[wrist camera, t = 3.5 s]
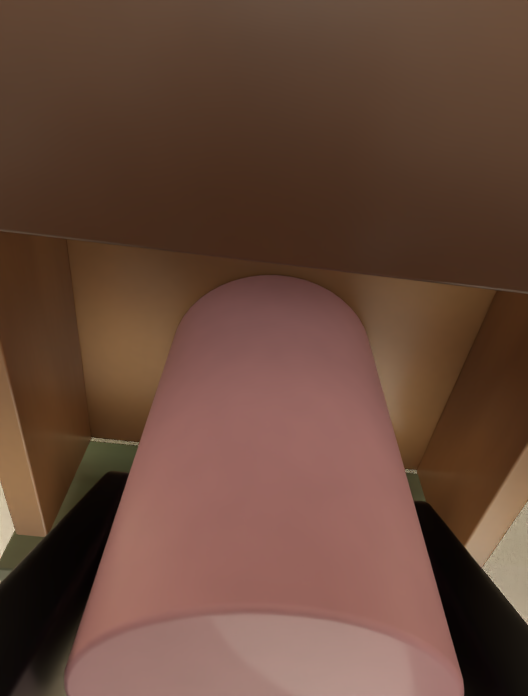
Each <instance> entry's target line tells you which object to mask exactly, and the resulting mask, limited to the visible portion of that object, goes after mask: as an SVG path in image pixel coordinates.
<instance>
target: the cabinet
mask: <svg viewBox="0 0 528 696" xmlns="http://www.w3.org/2000/svg"><path fill="white" fill-rule="evenodd" d="M0 231H3V232H12V233H20V234H28V235H37V236H45V237H54V238H62V239H70V240H79V241H87V242H96V243H104V244H112V245H121V246H129V247H137V248H146V249H154V250H163V251H171V252H179V253H188V254H196V255H205V256H213V257H221V258H230V259H238V260H247V261H255V262H263V263H272V264H280V265H289V266H297V267H305V268H314V269H322V270H331V271H339V272H347V273H356V274H364V275H372V276H381V277H389V278H398V279H406V280H414V281H423V282H431V283H440V284H448V285H456V286H465V287H473V288H482V289H490V290H498V291H507V292H515V293H524V294H528V0H0Z"/></svg>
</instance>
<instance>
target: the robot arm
mask: <svg viewBox="0 0 528 696" xmlns="http://www.w3.org/2000/svg"><path fill="white" fill-rule="evenodd" d="M128 476H129V473H127V472H118V471H109V472H107V473H106V474H105V475H104V476H103V477H102V478H101V479H100V480H99V481H98V482H97V483H96V484H95V485H94V486H93V487H92V488H91V489H90V490H89V491H88V492H87V493H86V494H85V495H84V496H83V498H82V499H81V500H80V501H79V502H78V503H77V504H76V505H75V506H74V507H73V508H72V509H71V510H70V511H69V512H68V513H67V514H66V515H65V516H64V517H63V518H62V519H61V520H60V521H59V522H58V523H57V524H56V526H55V527H54V528H53V529H52V530H51V531H50V532H49V533H48V534H47V535H46V536H45V537H44V538H43V539H42V540H41V541H40V542H39V543H38V544H37V545H36V546H35V547H34V548H33V549H32V550H31V551H30V552H29V554H28V555H27V556H26V557H25V558H24V559H23V560H22V561H21V562H20V563H19V564H18V565H17V566H16V567H15V568H14V569H13V570H12V571H11V572H10V573H9V574H8V575H7V576H6V577H5V578H4V579H3V581H2V582H1V583H0V696H67V695H66V692H65V688H64V671H65V668H66V665H67V662H68V659H69V655H70V652H71V649H72V646H73V643H74V640H75V637H76V634H77V631H78V628H79V625H80V622H81V619H82V616H83V613H84V610H85V607H86V604H87V601H88V598H89V595H90V592H91V588H92V585H93V582H94V579H95V576H96V573H97V570H98V567H99V564H100V561H101V558H102V555H103V552H104V549H105V546H106V543H107V540H108V537H109V534H110V531H111V528H112V525H113V522H114V519H115V515H116V512H117V509H118V506H119V503H120V500H121V497H122V494H123V491H124V488H125V485H126V482H127V479H128ZM413 501H414V505H415V508H416V512H417V516H418V519H419V523H420V526H421V530H422V534H423V537H424V541H425V544H426V548H427V552H428V555H429V559H430V563H431V566H432V570H433V573H434V577H435V581H436V584H437V588H438V591H439V595H440V599H441V602H442V606H443V609H444V613H445V617H446V620H447V624H448V627H449V631H450V635H451V638H452V642H453V645H454V649H455V653H456V656H457V660H458V663H459V667H460V671H461V674H462V678H463V684H464V696H528V625H527V624H526V622H525V621H524V620H523V619H522V617H521V616H520V615H519V614H518V612H517V611H516V610H515V609H514V608H513V606H512V605H511V604H510V603H509V601H508V600H507V599H506V598H505V596H504V595H503V594H502V593H501V591H500V590H499V589H498V588H497V587H496V585H495V584H494V583H493V582H492V580H491V579H490V578H489V577H488V575H487V574H486V573H485V572H484V570H483V569H482V568H481V567H480V566H479V564H478V563H477V562H476V561H475V559H474V558H473V557H472V556H471V554H470V553H469V552H468V551H467V549H466V548H465V547H464V546H463V544H462V543H461V542H460V541H459V540H458V538H457V537H456V536H455V535H454V533H453V532H452V531H451V530H450V528H449V527H448V526H447V525H446V523H445V522H444V521H443V520H442V519H441V517H440V516H439V515H438V514H437V512H436V511H435V510H434V509H433V507H432V506H431V505H430V504H429V503H427V502H424V501H415V500H413Z"/></svg>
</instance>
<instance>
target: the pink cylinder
mask: <svg viewBox="0 0 528 696" xmlns="http://www.w3.org/2000/svg"><path fill="white" fill-rule="evenodd" d="M64 688H65V692H66V695H67V696H464V684H463V678H462V674H461V671H460V667H459V663H458V660H457V656H456V653H455V649H454V645H453V642H452V638H451V635H450V631H449V627H448V624H447V620H446V617H445V613H444V609H443V606H442V602H441V599H440V595H439V591H438V588H437V584H436V581H435V577H434V573H433V570H432V566H431V563H430V559H429V555H428V552H427V548H426V544H425V541H424V537H423V534H422V530H421V526H420V523H419V519H418V516H417V512H416V508H415V505H414V501H413V498H412V494H411V490H410V487H409V483H408V480H407V476H406V472H405V469H404V465H403V462H402V458H401V454H400V451H399V447H398V444H397V440H396V436H395V433H394V429H393V426H392V422H391V418H390V415H389V411H388V408H387V404H386V400H385V397H384V393H383V390H382V386H381V382H380V379H379V375H378V372H377V368H376V364H375V361H374V357H373V354H372V350H371V346H370V343H369V339H368V336H367V334H366V331H365V328H364V326H363V325H362V323H361V321H360V319H359V318H358V316H357V315H356V314H355V312H354V311H353V310H352V309H351V308H350V307H349V306H348V305H347V304H346V303H345V302H344V301H343V300H342V299H341V298H339V297H338V296H336V295H335V294H334V293H332V292H331V291H329V290H327V289H325V288H323V287H321V286H319V285H317V284H314V283H312V282H309V281H306V280H303V279H299V278H294V277H289V276H281V275H259V276H251V277H246V278H242V279H238V280H234V281H231V282H229V283H226V284H224V285H221V286H219V287H217V288H216V289H214V290H212V291H210V292H208V293H207V294H206V295H204V296H203V297H202V298H200V299H199V300H198V301H197V302H196V303H195V304H194V305H193V306H192V307H191V308H190V309H189V310H188V311H187V313H186V314H185V315H184V317H183V318H182V320H181V322H180V324H179V326H178V327H177V330H176V333H175V336H174V339H173V342H172V345H171V348H170V351H169V354H168V357H167V360H166V363H165V366H164V369H163V372H162V375H161V378H160V381H159V385H158V388H157V391H156V394H155V397H154V400H153V403H152V406H151V409H150V412H149V415H148V418H147V421H146V424H145V427H144V430H143V433H142V436H141V439H140V442H139V445H138V448H137V452H136V455H135V458H134V461H133V464H132V467H131V470H130V473H129V476H128V479H127V482H126V485H125V488H124V491H123V494H122V497H121V500H120V503H119V506H118V509H117V512H116V515H115V519H114V522H113V525H112V528H111V531H110V534H109V537H108V540H107V543H106V546H105V549H104V552H103V555H102V558H101V561H100V564H99V567H98V570H97V573H96V576H95V579H94V582H93V585H92V588H91V592H90V595H89V598H88V601H87V604H86V607H85V610H84V613H83V616H82V619H81V622H80V625H79V628H78V631H77V634H76V637H75V640H74V643H73V646H72V649H71V652H70V655H69V659H68V662H67V665H66V668H65V671H64Z"/></svg>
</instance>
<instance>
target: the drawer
mask: <svg viewBox="0 0 528 696" xmlns="http://www.w3.org/2000/svg"><path fill="white" fill-rule="evenodd" d="M259 275H281V276H289V277H294V278H299V279H303V280H306V281H309V282H312V283H314V284H317V285H319V286H321V287H323V288H325V289H327V290H329V291H331V292H332V293H334V294H335V295H336V296H338V297H339V298H341V299H342V300H343V301H344V302H345V303H346V304H347V305H348V306H349V307H350V308H351V309H352V310H353V311H354V312H355V314H356V315H357V316H358V318H359V319H360V321H361V323H362V325H363V326H364V328H365V331H366V334H367V336H368V339H369V343H370V346H371V350H372V354H373V357H374V361H375V364H376V368H377V372H378V375H379V379H380V382H381V386H382V390H383V393H384V397H385V400H386V404H387V408H388V411H389V415H390V418H391V422H392V426H393V429H394V433H395V436H396V440H397V444H398V447H399V451H400V454H401V458H402V462H403V465H404V469H412V470H417V474H415V473H406V476H407V480H408V483H409V487H410V490H411V494H412V498H413V500H415V501H424V502H427V503H429V504H430V505H431V506H432V507H433V509H434V510H435V511H436V512H437V514H438V515H439V516H440V517H441V519H442V520H443V521H444V522H445V523H446V525H447V526H448V527H449V528H450V530H451V531H452V532H453V533H454V535H455V536H456V537H457V538H458V540H459V541H460V542H461V543H462V544H463V546H464V547H465V548H466V549H467V551H468V552H469V553H470V554H471V556H472V557H473V558H474V559H475V561H476V562H477V563H478V564H479V566H480V567H481V568H482V567H483V565H484V564H485V562H486V561H487V559H488V558H489V557H490V555H491V554H492V552H493V551H494V549H495V548H496V546H497V545H498V543H499V542H500V540H501V539H502V538H503V536H504V535H505V533H506V532H507V530H508V529H509V527H510V526H511V524H512V523H513V521H514V520H515V518H516V517H517V516H518V514H519V513H520V511H521V510H522V508H523V507H524V505H525V504H526V502H527V501H528V294H524V293H515V292H507V291H498V290H490V289H482V288H473V287H465V286H456V285H448V284H440V283H431V282H423V281H414V280H406V279H398V278H389V277H381V276H372V275H364V274H356V273H347V272H339V271H331V270H322V269H314V268H305V267H297V266H289V265H280V264H272V263H263V262H255V261H247V260H238V259H230V258H221V257H213V256H205V255H196V254H188V253H179V252H171V251H163V250H154V249H146V248H137V247H129V246H121V245H112V244H104V243H96V242H87V241H79V240H70V239H62V238H54V237H45V236H37V235H28V234H20V233H12V232H3V231H0V481H1V485H2V488H3V491H4V495H5V498H6V501H7V505H8V508H9V511H10V515H11V518H12V521H13V524H14V528H15V531H14V533H13V535H12V537H11V539H10V541H9V543H8V545H7V547H6V549H5V551H4V553H3V555H2V557H1V559H0V582H2V581H3V579H4V578H5V577H6V576H7V575H8V574H9V573H10V572H11V571H12V570H13V569H14V568H15V567H16V566H17V565H18V564H19V563H20V562H21V561H22V560H23V559H24V558H25V557H26V556H27V555H28V554H29V552H30V551H31V550H32V549H33V548H34V547H35V546H36V545H37V544H38V543H39V542H40V541H41V540H42V539H43V538H44V537H45V536H46V535H47V534H48V533H49V532H50V531H51V530H52V529H53V528H54V527H55V526H56V524H57V523H58V522H59V521H60V520H61V519H62V518H63V517H64V516H65V515H66V514H67V513H68V512H69V511H70V510H71V509H72V508H73V507H74V506H75V505H76V504H77V503H78V502H79V501H80V500H81V499H82V498H83V496H84V495H85V494H86V493H87V492H88V491H89V490H90V489H91V488H92V487H93V486H94V485H95V484H96V483H97V482H98V481H99V480H100V479H101V478H102V477H103V476H104V475H105V474H106V473H107V472H109V471H118V472H127V473H130V470H131V467H132V464H133V461H134V458H135V455H136V452H137V448H138V446H136V445H126V444H116V443H106V442H96V441H90V440H91V437H94V438H104V439H114V440H124V441H134V442H140V439H141V436H142V433H143V430H144V427H145V424H146V421H147V418H148V415H149V412H150V409H151V406H152V403H153V400H154V397H155V394H156V391H157V388H158V385H159V381H160V378H161V375H162V372H163V369H164V366H165V363H166V360H167V357H168V354H169V351H170V348H171V345H172V342H173V339H174V336H175V333H176V330H177V327H178V326H179V324H180V322H181V320H182V318H183V317H184V315H185V314H186V313H187V311H188V310H189V309H190V308H191V307H192V306H193V305H194V304H195V303H196V302H197V301H198V300H199V299H200V298H202V297H203V296H204V295H206V294H207V293H208V292H210V291H212V290H214V289H216V288H217V287H219V286H221V285H224V284H226V283H229V282H231V281H234V280H238V279H242V278H246V277H251V276H259Z"/></svg>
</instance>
